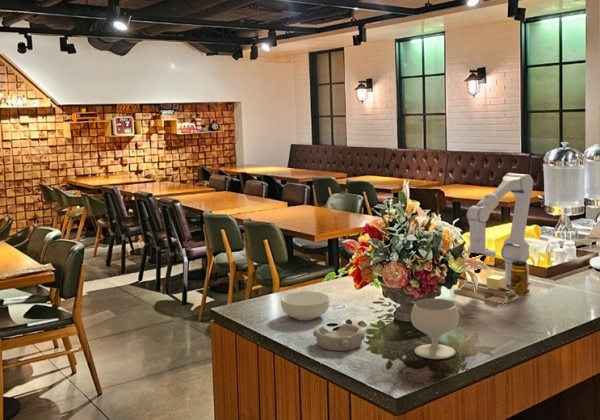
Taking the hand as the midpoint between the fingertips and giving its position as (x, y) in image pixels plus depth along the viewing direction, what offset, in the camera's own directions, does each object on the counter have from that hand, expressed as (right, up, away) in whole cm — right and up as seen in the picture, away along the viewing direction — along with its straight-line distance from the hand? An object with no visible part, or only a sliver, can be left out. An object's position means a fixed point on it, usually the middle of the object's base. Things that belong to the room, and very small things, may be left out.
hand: (477, 272), depth 269 cm
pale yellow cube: (+6, -6, -6) cm, 10 cm away
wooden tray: (+3, -9, -2) cm, 9 cm away
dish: (-55, -18, -50) cm, 77 cm away
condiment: (+17, -8, +2) cm, 18 cm away
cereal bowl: (-65, -14, -21) cm, 70 cm away
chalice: (-28, -19, -59) cm, 68 cm away
